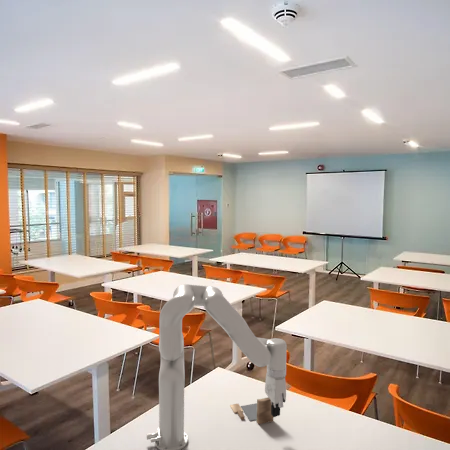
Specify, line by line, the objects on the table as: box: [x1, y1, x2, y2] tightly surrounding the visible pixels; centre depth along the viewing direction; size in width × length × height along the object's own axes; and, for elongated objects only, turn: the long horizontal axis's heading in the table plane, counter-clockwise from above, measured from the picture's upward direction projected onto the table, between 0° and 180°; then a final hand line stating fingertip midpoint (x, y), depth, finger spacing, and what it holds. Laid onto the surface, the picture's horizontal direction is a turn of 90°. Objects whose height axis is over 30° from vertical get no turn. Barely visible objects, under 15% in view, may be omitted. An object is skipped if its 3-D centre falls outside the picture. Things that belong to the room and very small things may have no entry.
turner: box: [229, 403, 246, 421], centre depth 159 cm, size 4×11×1 cm, turn 18°
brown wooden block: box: [255, 396, 274, 425], centre depth 153 cm, size 7×2×10 cm, turn 108°
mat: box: [240, 402, 257, 422], centre depth 160 cm, size 12×11×1 cm
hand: (275, 414), depth 144 cm, fingers closed
